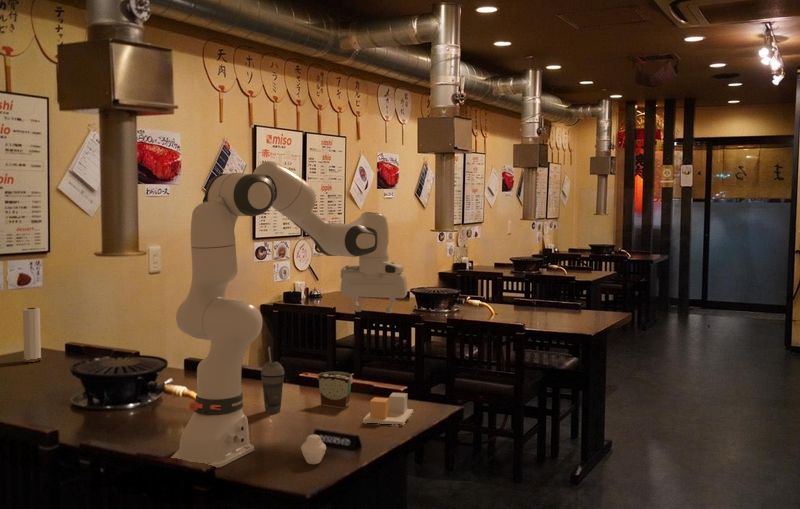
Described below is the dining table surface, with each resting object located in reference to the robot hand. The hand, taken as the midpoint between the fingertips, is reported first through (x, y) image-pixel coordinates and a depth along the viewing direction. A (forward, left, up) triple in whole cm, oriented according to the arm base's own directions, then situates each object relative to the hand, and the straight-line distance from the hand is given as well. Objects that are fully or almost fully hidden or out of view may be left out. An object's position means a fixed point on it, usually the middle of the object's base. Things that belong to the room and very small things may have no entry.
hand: (373, 312), depth 228 cm
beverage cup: (-6, +30, -31) cm, 44 cm away
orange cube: (-7, -4, -30) cm, 31 cm away
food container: (+7, +13, -31) cm, 35 cm away
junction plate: (-4, -6, -31) cm, 32 cm away
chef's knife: (-14, -9, -32) cm, 36 cm away
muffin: (-46, +3, -31) cm, 56 cm away
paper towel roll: (+38, +150, -31) cm, 158 cm away
